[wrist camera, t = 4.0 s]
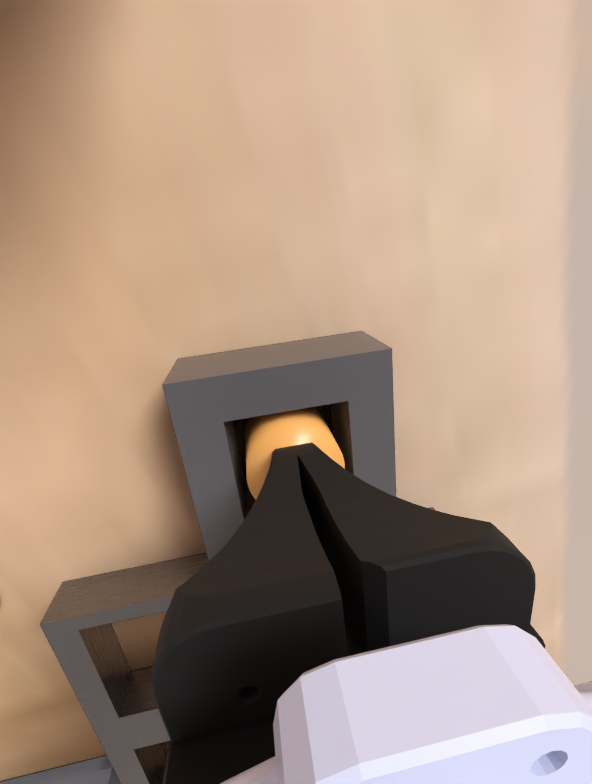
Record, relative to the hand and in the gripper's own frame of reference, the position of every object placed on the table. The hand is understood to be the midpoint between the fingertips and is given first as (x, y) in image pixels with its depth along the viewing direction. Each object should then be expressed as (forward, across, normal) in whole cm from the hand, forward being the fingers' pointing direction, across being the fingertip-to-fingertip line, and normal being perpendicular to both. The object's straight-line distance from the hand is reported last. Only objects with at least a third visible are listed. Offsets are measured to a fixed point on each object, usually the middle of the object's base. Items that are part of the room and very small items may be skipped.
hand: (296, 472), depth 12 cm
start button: (+3, 0, 0) cm, 3 cm away
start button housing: (+3, 0, 0) cm, 3 cm away
